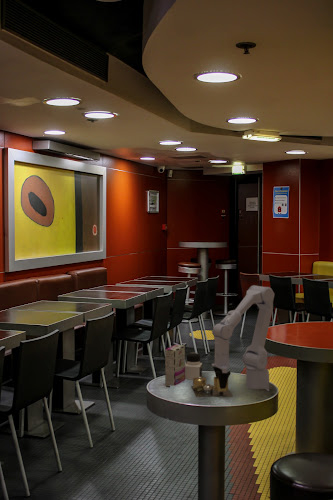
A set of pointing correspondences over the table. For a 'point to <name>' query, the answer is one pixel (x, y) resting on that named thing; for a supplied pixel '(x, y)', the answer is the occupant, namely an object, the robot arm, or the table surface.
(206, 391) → the plate
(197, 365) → the medicine bottle
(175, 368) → the candy bar box
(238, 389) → the table surface
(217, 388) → the gear
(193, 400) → the table surface
